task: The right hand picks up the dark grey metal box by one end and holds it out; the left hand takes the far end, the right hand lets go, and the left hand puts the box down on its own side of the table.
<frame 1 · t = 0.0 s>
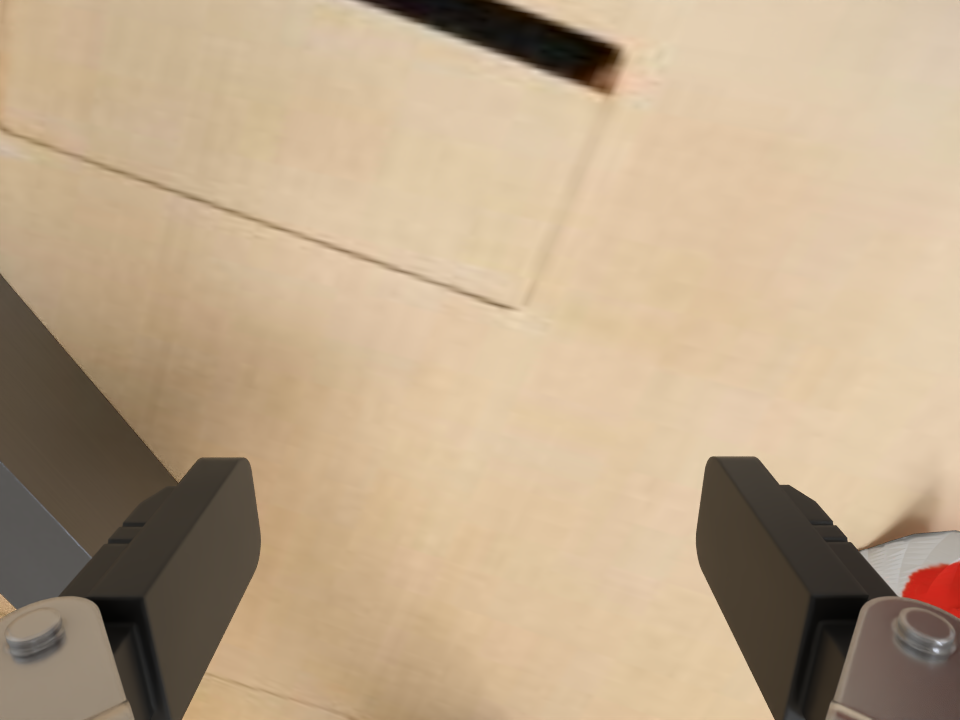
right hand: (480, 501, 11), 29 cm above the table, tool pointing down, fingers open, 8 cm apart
fish: (918, 573, 48), on the table
box: (36, 380, 42), on the table
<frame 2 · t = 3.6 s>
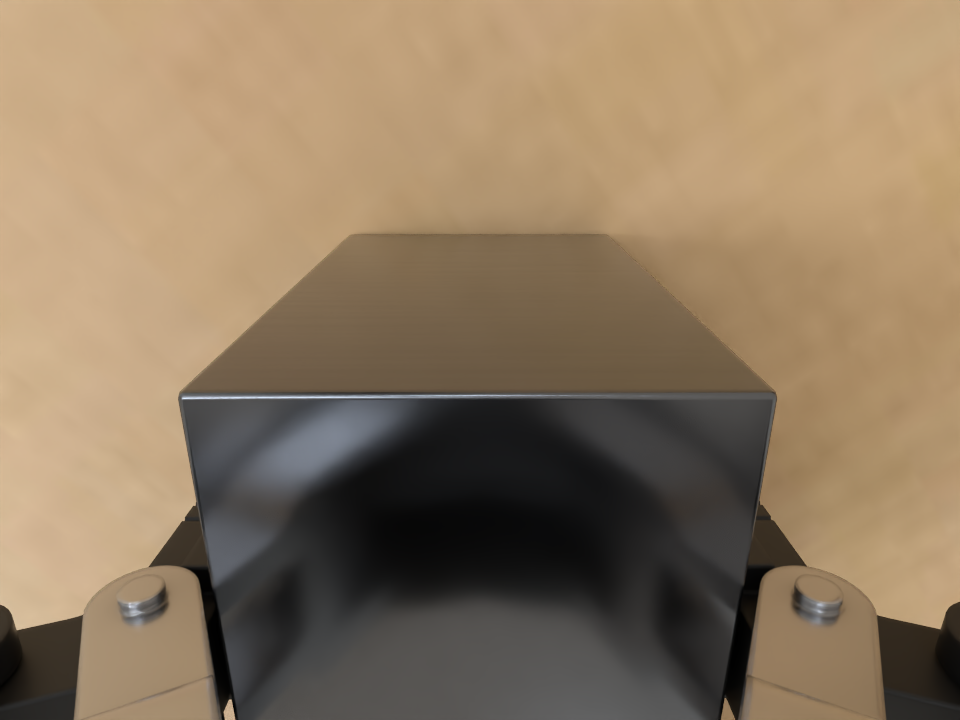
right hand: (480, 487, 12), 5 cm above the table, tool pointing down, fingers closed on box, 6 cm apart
box: (479, 613, 19), on the table, touching right hand
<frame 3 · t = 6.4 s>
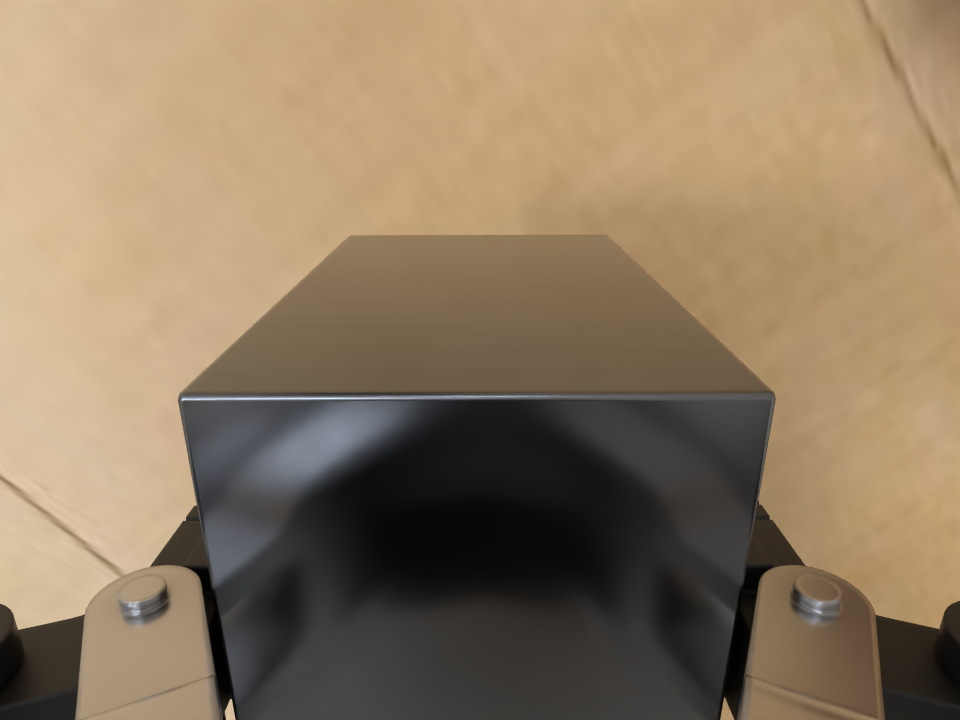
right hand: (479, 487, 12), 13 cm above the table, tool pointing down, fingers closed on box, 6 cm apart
box: (479, 613, 19), point 8 cm above the table, touching right hand
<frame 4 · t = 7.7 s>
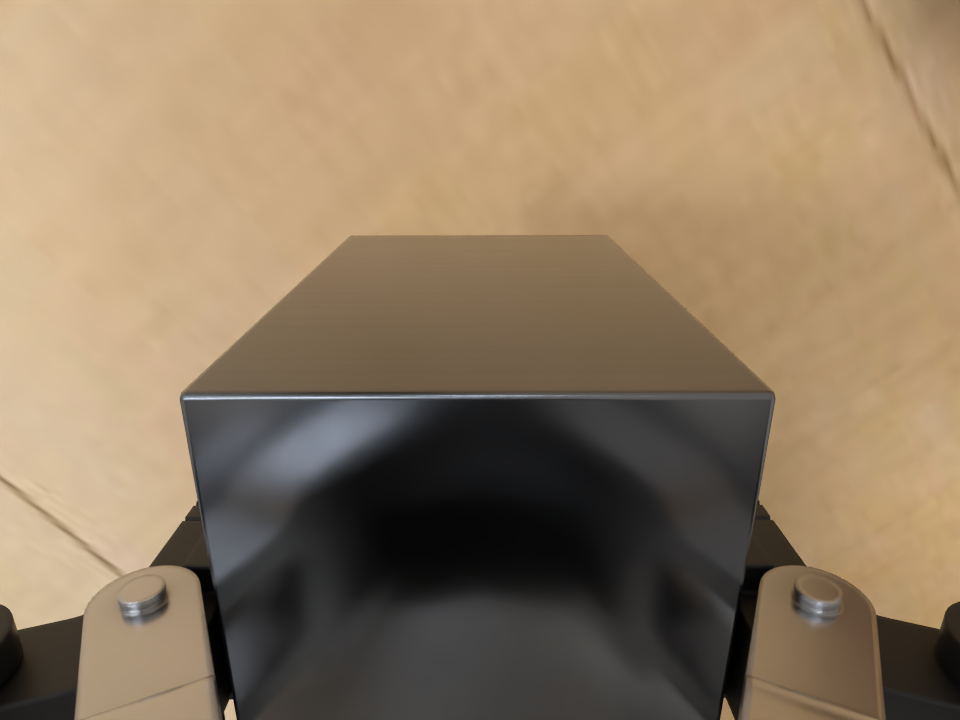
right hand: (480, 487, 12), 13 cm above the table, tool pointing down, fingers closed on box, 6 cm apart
box: (479, 613, 19), point 8 cm above the table, touching right hand, left hand
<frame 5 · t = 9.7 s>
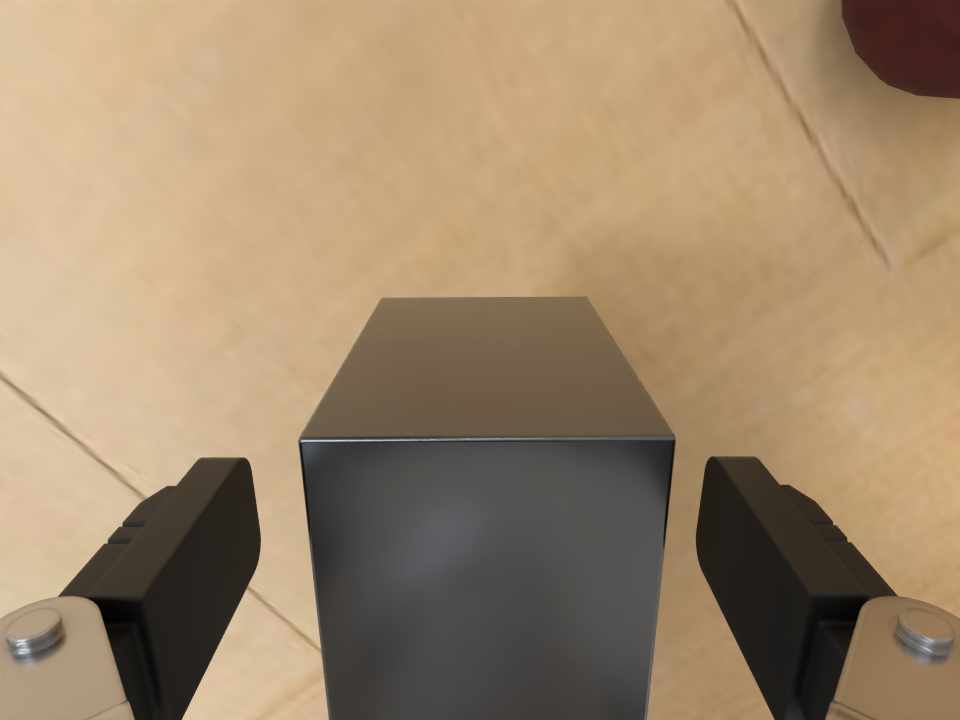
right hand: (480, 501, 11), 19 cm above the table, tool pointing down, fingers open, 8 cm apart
box: (485, 604, 23), point 10 cm above the table, touching left hand
potato: (899, 0, 26), on the table
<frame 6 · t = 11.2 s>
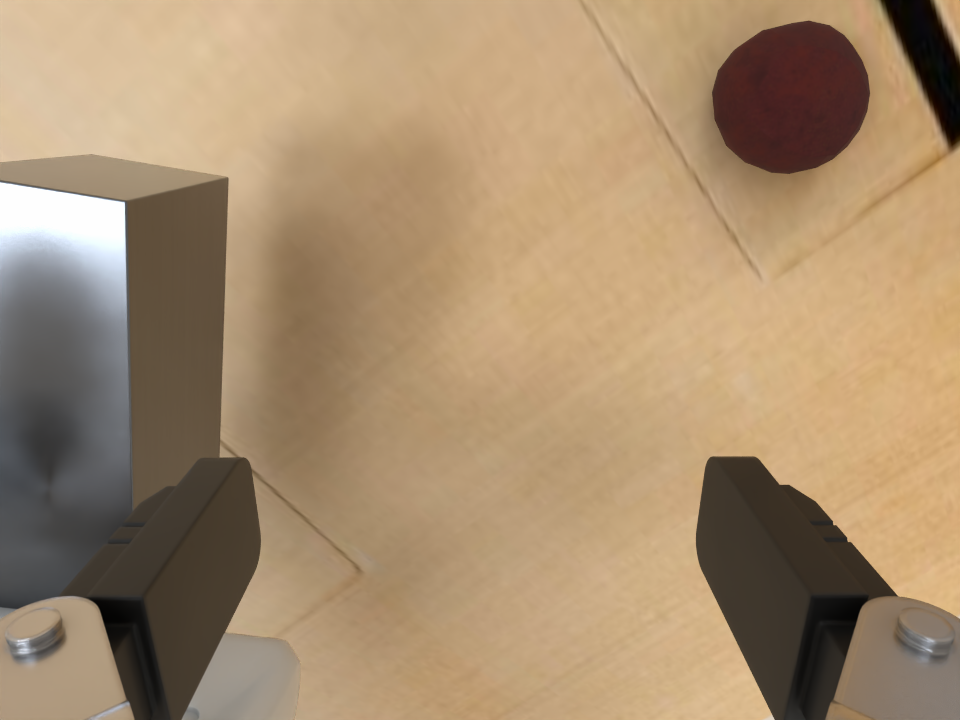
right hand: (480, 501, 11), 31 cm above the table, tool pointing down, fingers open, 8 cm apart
box: (160, 390, 33), point 10 cm above the table, touching left hand
potato: (759, 100, 38), on the table
when the left hand's fingers open (5 cm above the table, at t = 15.0 s): box stays where it is, on the table.
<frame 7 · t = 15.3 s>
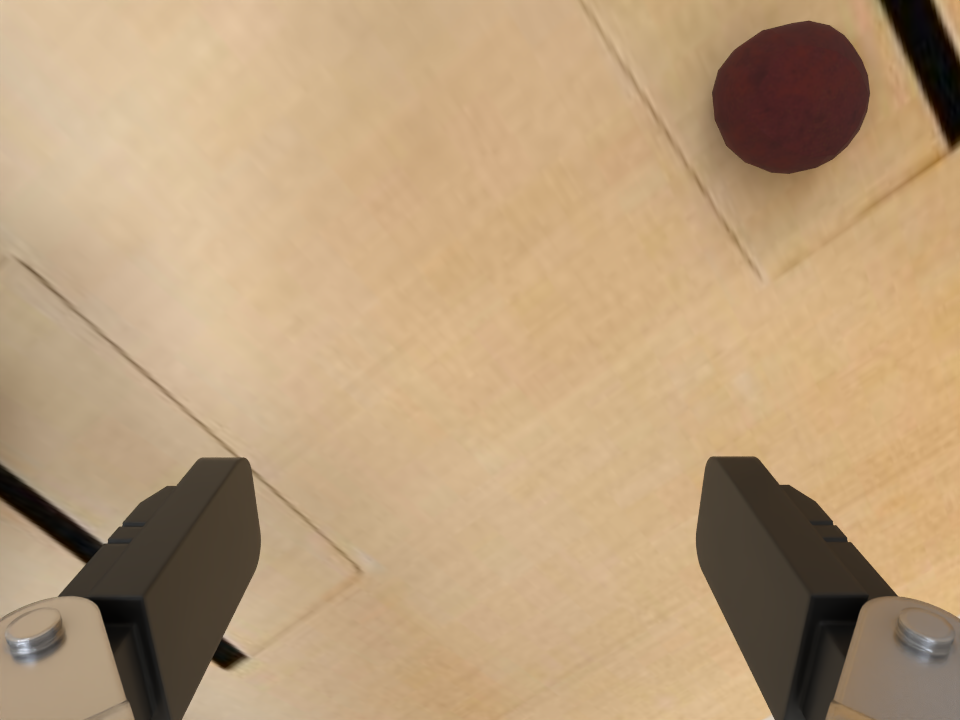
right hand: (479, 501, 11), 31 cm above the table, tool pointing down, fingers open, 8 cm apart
potato: (759, 100, 38), on the table
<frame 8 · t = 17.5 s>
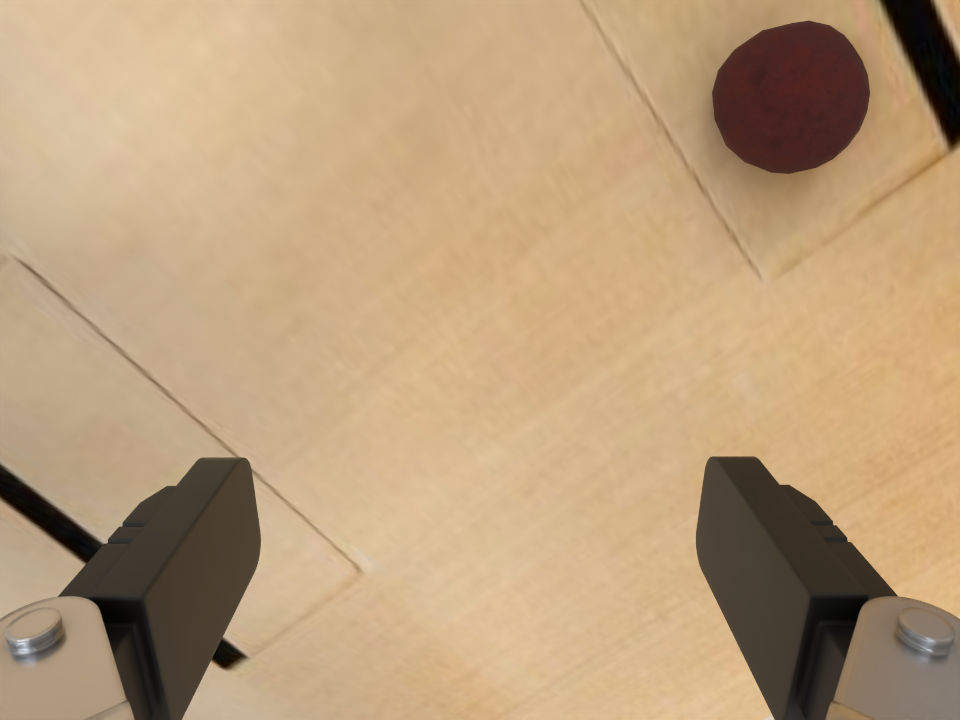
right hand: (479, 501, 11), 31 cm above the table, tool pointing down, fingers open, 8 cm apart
potato: (759, 100, 38), on the table
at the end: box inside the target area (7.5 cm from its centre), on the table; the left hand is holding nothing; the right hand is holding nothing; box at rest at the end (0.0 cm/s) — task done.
